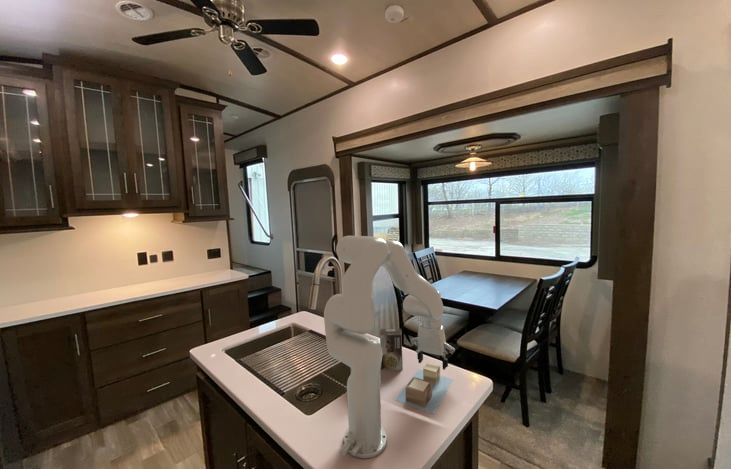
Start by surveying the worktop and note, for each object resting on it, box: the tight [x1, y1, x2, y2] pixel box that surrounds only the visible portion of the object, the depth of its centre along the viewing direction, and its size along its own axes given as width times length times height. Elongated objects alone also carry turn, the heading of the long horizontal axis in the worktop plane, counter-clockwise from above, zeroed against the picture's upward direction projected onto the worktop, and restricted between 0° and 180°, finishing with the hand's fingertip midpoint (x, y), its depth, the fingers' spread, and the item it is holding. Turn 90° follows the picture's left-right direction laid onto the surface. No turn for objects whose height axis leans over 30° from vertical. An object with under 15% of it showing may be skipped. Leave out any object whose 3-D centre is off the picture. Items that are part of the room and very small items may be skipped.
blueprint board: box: [394, 369, 453, 415], centre depth 104 cm, size 22×14×6 cm, turn 147°
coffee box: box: [379, 328, 404, 372], centre depth 120 cm, size 9×6×16 cm
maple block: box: [422, 362, 441, 384], centre depth 110 cm, size 5×5×5 cm
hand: (432, 364), depth 110 cm, fingers open, 9 cm apart
